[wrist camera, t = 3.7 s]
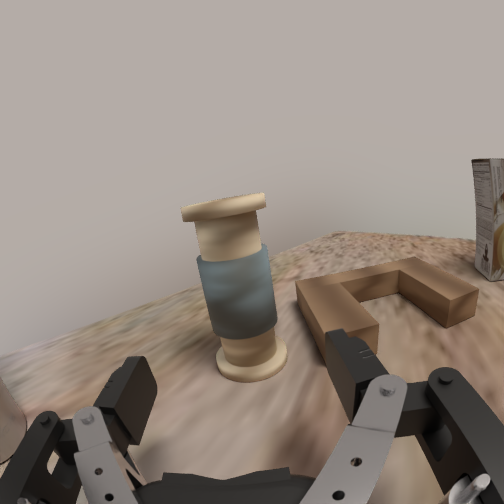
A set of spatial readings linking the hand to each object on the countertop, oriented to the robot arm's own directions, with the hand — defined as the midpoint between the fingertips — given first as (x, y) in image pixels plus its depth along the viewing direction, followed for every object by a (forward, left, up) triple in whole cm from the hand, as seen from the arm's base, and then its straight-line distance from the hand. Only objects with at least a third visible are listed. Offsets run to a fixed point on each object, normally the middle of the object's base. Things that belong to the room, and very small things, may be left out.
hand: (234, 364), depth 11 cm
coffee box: (+37, +14, -8) cm, 40 cm away
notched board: (+14, +14, -8) cm, 21 cm away
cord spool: (0, +11, -8) cm, 13 cm away
